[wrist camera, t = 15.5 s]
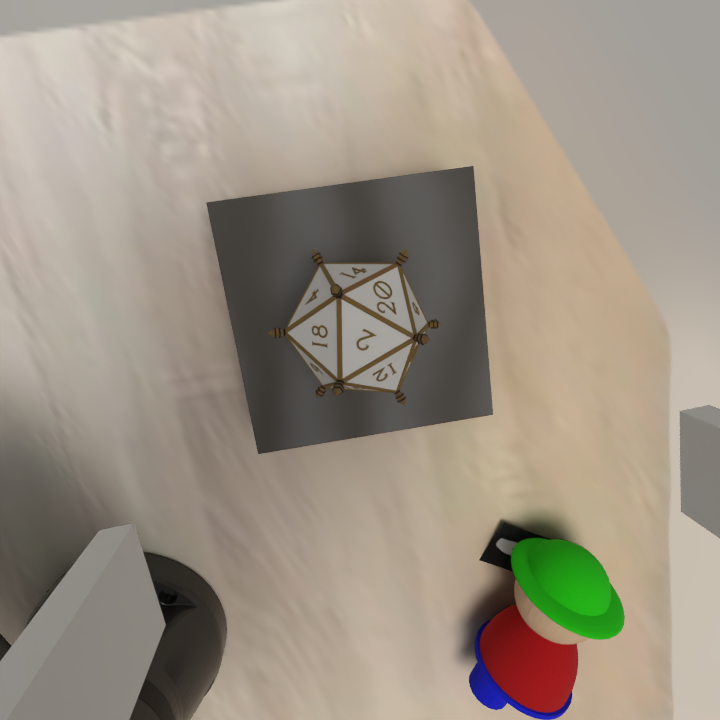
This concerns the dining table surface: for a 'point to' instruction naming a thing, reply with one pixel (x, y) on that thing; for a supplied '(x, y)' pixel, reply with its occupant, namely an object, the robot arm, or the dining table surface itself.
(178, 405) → the dining table surface
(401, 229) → the dark gray square base
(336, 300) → the game die
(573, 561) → the toy figure
